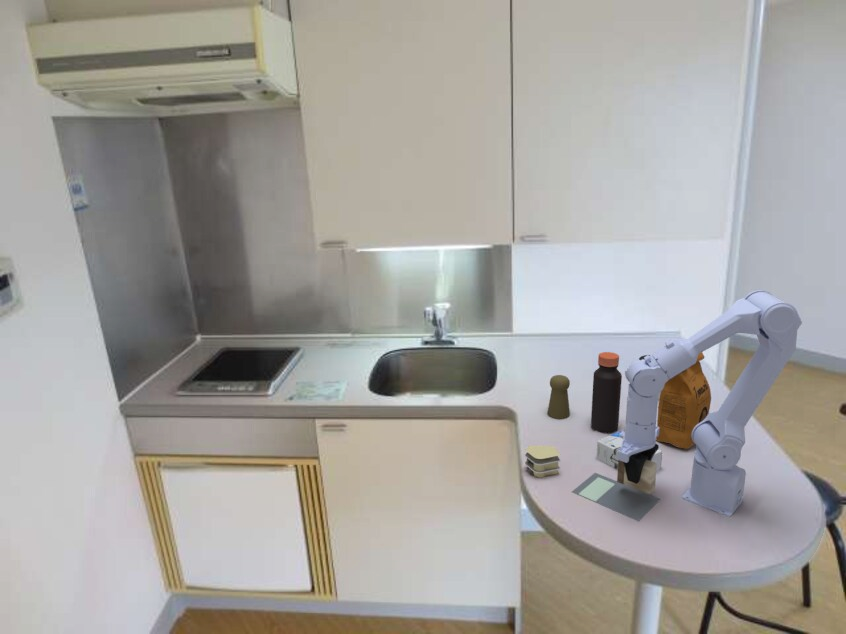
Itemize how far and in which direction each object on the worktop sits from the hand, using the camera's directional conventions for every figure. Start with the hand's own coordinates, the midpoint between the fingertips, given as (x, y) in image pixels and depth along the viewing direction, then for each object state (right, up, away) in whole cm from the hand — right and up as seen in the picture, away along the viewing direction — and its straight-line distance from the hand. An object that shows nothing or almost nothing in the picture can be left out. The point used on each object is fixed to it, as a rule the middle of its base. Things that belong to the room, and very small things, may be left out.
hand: (636, 478), depth 123 cm
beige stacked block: (-17, -2, +12) cm, 21 cm away
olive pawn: (-7, +7, +39) cm, 40 cm away
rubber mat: (-4, -4, +2) cm, 6 cm away
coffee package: (+20, +3, +24) cm, 31 cm away
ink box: (0, +3, +18) cm, 18 cm away
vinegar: (+3, +5, +30) cm, 31 cm away
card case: (0, -2, +1) cm, 2 cm away
